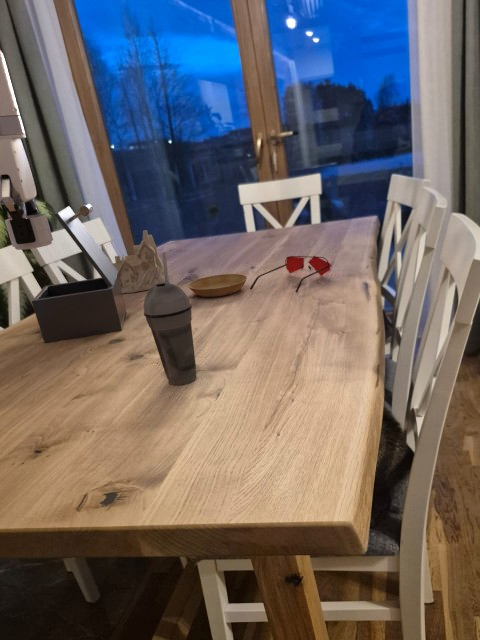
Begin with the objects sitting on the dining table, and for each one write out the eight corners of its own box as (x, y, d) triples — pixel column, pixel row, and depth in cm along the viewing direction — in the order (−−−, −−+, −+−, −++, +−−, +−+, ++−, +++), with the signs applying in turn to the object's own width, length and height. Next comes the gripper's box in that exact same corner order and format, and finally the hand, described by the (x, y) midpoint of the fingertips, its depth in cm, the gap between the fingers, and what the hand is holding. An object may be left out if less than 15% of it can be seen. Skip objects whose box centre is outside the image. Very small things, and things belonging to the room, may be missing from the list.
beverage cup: (156, 377, 95) (128, 254, 86) (200, 367, 97) (176, 246, 88) (163, 392, 89) (133, 262, 80) (209, 381, 91) (184, 253, 82)
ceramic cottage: (173, 274, 167) (158, 221, 160) (165, 290, 152) (149, 233, 145) (120, 284, 167) (103, 232, 160) (107, 301, 152) (88, 244, 146)
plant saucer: (212, 282, 153) (211, 273, 151) (259, 284, 146) (258, 273, 144) (177, 298, 141) (175, 288, 140) (226, 300, 134) (224, 289, 133)
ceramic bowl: (9, 251, 101) (0, 222, 99) (19, 245, 107) (10, 217, 105) (49, 246, 102) (41, 217, 100) (56, 240, 108) (49, 212, 106)
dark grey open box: (44, 343, 119) (31, 301, 116) (56, 324, 132) (44, 285, 128) (122, 330, 122) (111, 288, 118) (126, 313, 134) (117, 275, 130)
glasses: (333, 275, 145) (331, 255, 143) (297, 293, 133) (294, 271, 131) (288, 273, 153) (285, 254, 151) (249, 290, 141) (246, 269, 139)
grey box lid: (54, 215, 110) (77, 199, 110) (65, 207, 123) (87, 194, 122) (109, 287, 118) (131, 273, 117) (115, 274, 130) (135, 261, 130)
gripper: (-9, 134, 104) (22, 235, 111) (-42, 132, 88) (-4, 250, 96) (35, 129, 105) (62, 230, 112) (9, 127, 89) (43, 244, 97)
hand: (31, 238), depth 104 cm, fingers closed on ceramic bowl, 6 cm apart
